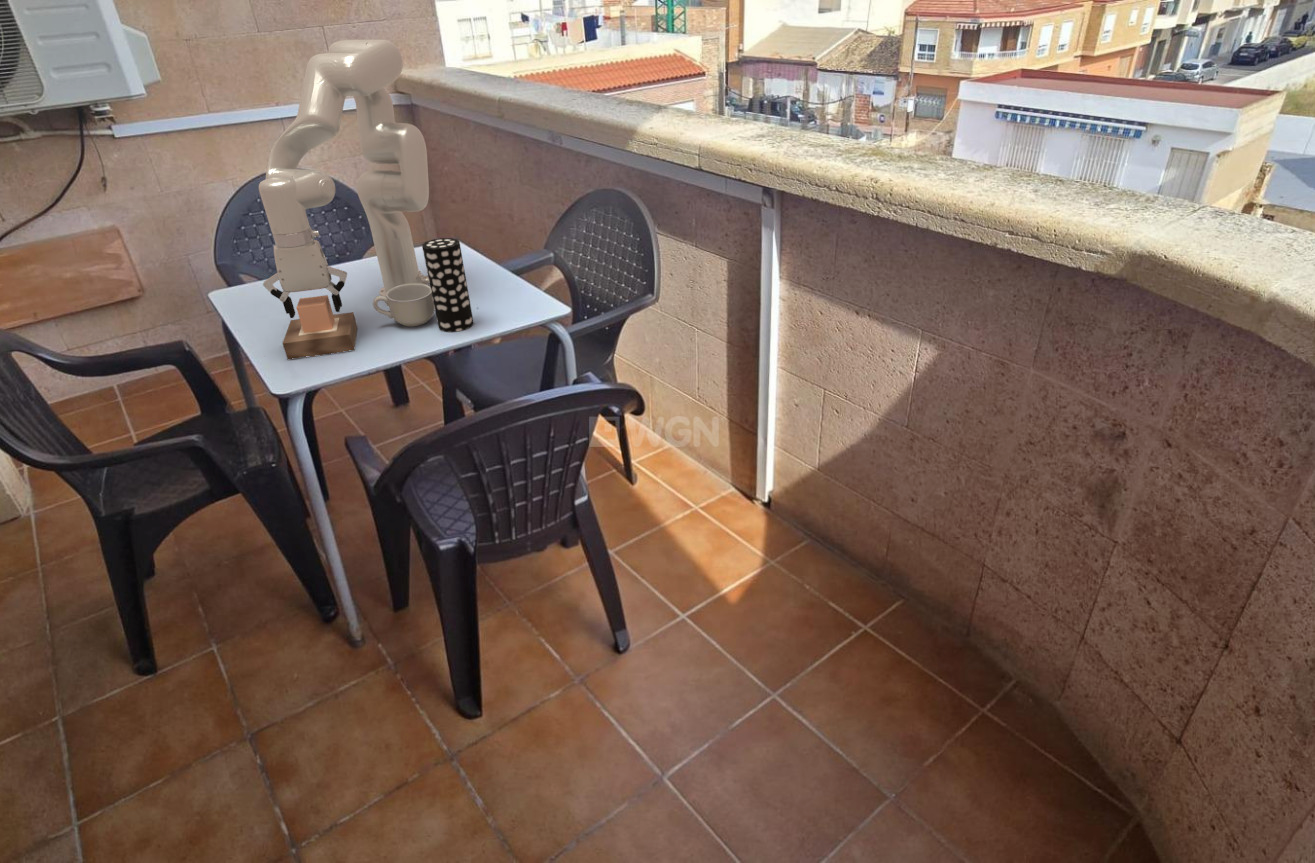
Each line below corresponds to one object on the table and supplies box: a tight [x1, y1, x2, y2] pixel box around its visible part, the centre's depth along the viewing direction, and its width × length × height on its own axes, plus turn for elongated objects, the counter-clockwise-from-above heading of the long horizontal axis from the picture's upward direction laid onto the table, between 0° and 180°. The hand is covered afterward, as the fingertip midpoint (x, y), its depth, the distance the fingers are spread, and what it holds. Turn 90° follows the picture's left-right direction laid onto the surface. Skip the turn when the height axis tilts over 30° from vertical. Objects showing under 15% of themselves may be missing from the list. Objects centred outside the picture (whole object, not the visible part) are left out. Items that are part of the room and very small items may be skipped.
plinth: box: [282, 311, 358, 360], centre depth 168 cm, size 14×14×4 cm
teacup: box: [372, 283, 435, 327], centre depth 176 cm, size 14×11×8 cm
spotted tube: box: [421, 237, 474, 333], centre depth 171 cm, size 8×8×20 cm
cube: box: [296, 294, 335, 333], centre depth 165 cm, size 6×6×6 cm
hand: (315, 312), depth 165 cm, fingers open, 9 cm apart
